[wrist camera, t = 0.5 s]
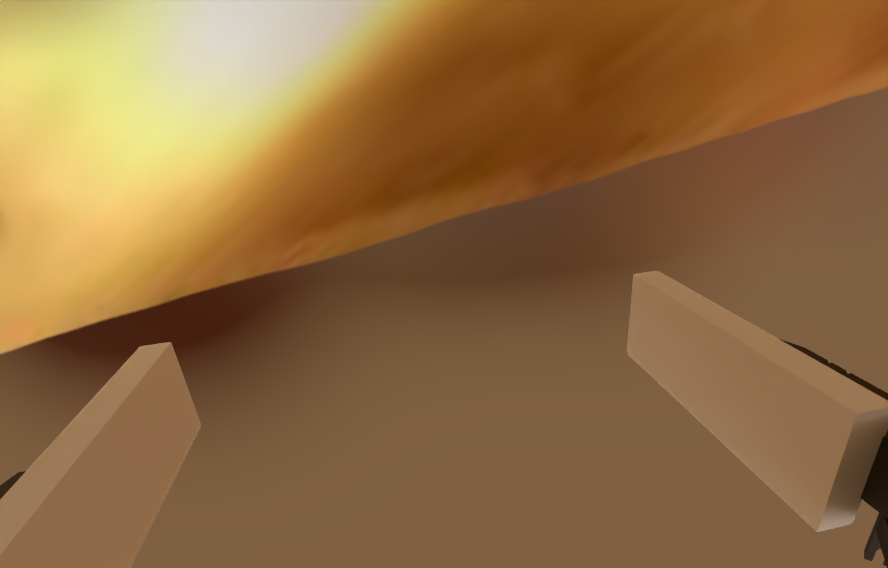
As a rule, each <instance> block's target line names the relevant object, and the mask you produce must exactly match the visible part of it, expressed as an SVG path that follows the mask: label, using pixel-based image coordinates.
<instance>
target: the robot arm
mask: <svg viewBox="0 0 888 568" xmlns="http://www.w3.org/2000/svg"><path fill="white" fill-rule="evenodd" d="M627 354H628V355H629V356H630V357H631V358H633V359H634V360H635V361H636V362H637V363H638V364H639V365H640V366H641V367H642V368H643V369H644V370H645V371H646V372H648V374H650V375H651V376H652V377H653V378H654V379H655V380H656V381H657V382H658V383H659V384H660V385H661V386H662V387H663V388H664V389H665V390H667V391H668V392H669V393H670V394H671V395H672V396H673V397H674V398H675V399H676V400H677V401H678V402H679V403H681V405H682V406H684V407H685V408H686V409H687V410H688V411H689V412H690V413H691V414H692V415H693V416H694V417H695V418H696V419H698V421H700V422H701V423H702V424H703V425H704V426H705V427H706V428H707V429H708V430H709V431H710V432H711V433H713V435H714V436H716V437H717V438H718V439H719V440H720V441H721V442H722V443H723V444H724V445H725V446H726V447H728V449H729V450H730V451H732V452H733V453H734V454H735V455H736V456H737V457H738V458H739V459H740V460H741V461H742V462H743V463H744V464H745V465H746V466H748V467H749V468H750V469H751V470H752V471H753V472H754V473H755V474H756V475H757V476H758V477H759V478H760V479H761V480H763V482H765V483H766V484H767V485H768V486H769V487H770V488H771V489H772V490H773V491H774V492H775V493H776V494H777V495H778V496H779V497H781V498H782V499H783V500H784V501H785V502H786V503H787V504H788V505H789V506H790V507H791V508H792V509H793V510H795V512H796V513H798V514H799V515H800V516H801V517H802V518H803V519H804V520H805V521H806V522H807V523H808V524H809V525H810V526H811V527H813V528H814V529H815V530H816V531H817V532H819V531H824V530H828V529H832V528H836V527H840V526H845V525H849V524H853V521H854V518H855V516H856V513H857V510H858V508H859V505H860V502H861V500H862V499H863V500H864V501H865V502H867V503H868V504H869V505H870V506H872V507H873V508H874V509H875V510H877V511H878V512H879V515H878V517H877V520H876V522H875V525H874V527H873V530H872V532H871V535H870V537H869V540H868V542H867V545H866V547H865V550H864V558H865V559H867V560H870V561H872V560H873V557H874V555H875V552H876V551H877V550H878V549H880V548H881V549H882V553H883V556H884V559H885V560H884V563H883V565H885V566H887V568H888V393H886V392H884V391H882V390H881V389H879V388H877V387H875V386H873V385H871V384H870V383H868V382H866V381H864V380H862V379H860V378H859V377H857V376H855V375H853V374H852V373H850V374H847V372H846V370H844V369H842V368H841V367H839V366H837V365H835V364H833V363H828V361H827V360H826V359H824V358H822V357H820V356H819V355H817V354H815V353H813V352H811V351H810V350H808V349H806V348H804V347H801V346H798V345H795V344H792V343H789V342H786V341H783V340H781V339H778V338H775V337H774V336H772V335H770V334H769V333H767V332H765V331H763V330H762V329H760V328H758V327H756V326H754V325H753V324H751V323H749V322H747V321H745V320H744V319H742V318H740V317H739V316H737V315H735V314H733V313H731V312H730V311H727V310H726V309H724V308H722V307H720V306H719V305H717V304H715V303H714V302H712V301H710V300H708V299H707V298H705V297H703V296H701V295H699V294H698V293H696V292H694V291H692V290H691V289H689V288H687V287H685V286H684V285H682V284H680V283H678V282H676V281H675V280H673V279H671V278H669V277H667V276H666V275H664V274H662V273H660V272H659V271H652V272H645V273H638V274H634V276H633V288H632V299H631V310H630V322H629V335H628V346H627ZM200 427H201V424H200V421H199V418H198V415H197V413H196V410H195V407H194V404H193V402H192V399H191V396H190V393H189V391H188V388H187V385H186V382H185V380H184V377H183V374H182V371H181V368H180V366H179V363H178V360H177V357H176V355H175V352H174V349H173V346H172V344H171V342H168V343H161V344H156V345H148V346H141V347H139V348H138V349H137V351H136V352H135V353H134V354H133V355H132V356H131V357H130V358H129V359H128V361H126V362H125V364H124V365H123V366H122V367H121V368H120V369H119V370H118V371H117V372H116V373H115V375H114V376H113V377H112V378H111V379H110V380H109V381H108V382H107V383H106V384H105V385H104V387H103V388H102V389H101V390H100V391H99V392H98V393H97V394H96V395H95V397H94V398H93V399H92V400H91V401H90V402H89V403H88V404H87V405H86V406H85V407H84V408H83V410H82V411H81V412H80V413H79V414H78V415H77V416H76V417H75V418H74V419H73V420H72V422H71V423H70V424H69V425H68V426H67V427H66V428H65V429H64V430H63V432H61V434H60V435H59V436H58V437H57V438H56V439H55V440H54V441H53V442H52V444H51V445H50V446H49V447H48V448H47V449H46V450H45V451H44V452H43V453H42V455H41V456H40V457H39V458H38V459H37V460H36V461H35V462H34V463H33V464H32V465H31V467H30V468H29V469H28V470H27V471H25V472H19V473H17V474H16V475H14V476H13V477H12V478H10V479H9V480H7V481H6V482H5V483H3V484H2V485H1V486H0V568H130V567H131V565H132V563H133V561H134V559H135V557H136V555H137V553H138V551H139V549H140V547H141V545H142V543H143V541H144V539H145V537H146V535H147V533H148V531H149V529H150V527H151V525H152V523H153V521H154V519H155V517H156V515H157V513H158V511H159V509H160V507H161V505H162V503H163V501H164V499H165V497H166V495H167V493H168V491H169V489H170V487H171V485H172V483H173V481H174V479H175V477H176V475H177V473H178V471H179V469H180V467H181V465H182V463H183V461H184V459H185V457H186V455H187V453H188V451H189V449H190V447H191V445H192V443H193V441H194V439H195V437H196V435H197V433H198V431H199V429H200Z"/></svg>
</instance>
